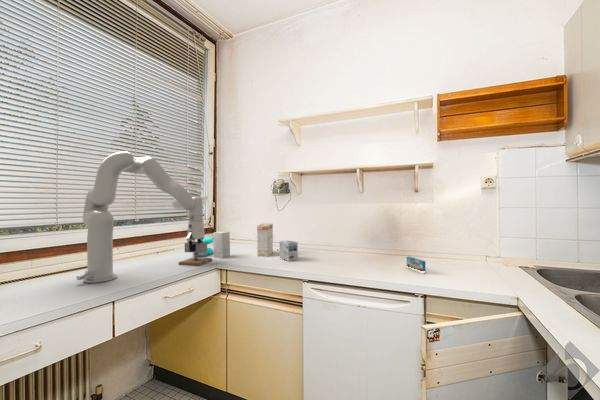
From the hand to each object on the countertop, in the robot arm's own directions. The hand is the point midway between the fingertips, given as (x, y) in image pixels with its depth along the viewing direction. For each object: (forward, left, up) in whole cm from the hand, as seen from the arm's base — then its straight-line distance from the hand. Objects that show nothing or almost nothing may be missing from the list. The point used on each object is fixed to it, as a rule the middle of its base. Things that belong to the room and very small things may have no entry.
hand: (195, 249), depth 165 cm
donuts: (+25, +10, -8) cm, 28 cm away
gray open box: (0, 0, -1) cm, 1 cm away
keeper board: (0, 0, -7) cm, 7 cm away
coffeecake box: (+33, -29, -8) cm, 45 cm away
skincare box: (+18, -6, -8) cm, 20 cm away
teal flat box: (+12, -118, -8) cm, 119 cm away
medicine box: (+16, +8, -8) cm, 19 cm away
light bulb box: (+22, -48, -8) cm, 53 cm away
